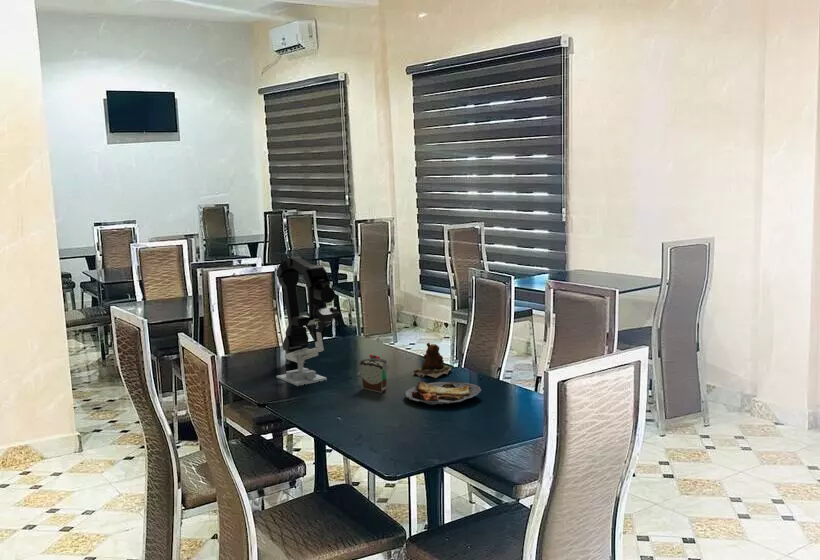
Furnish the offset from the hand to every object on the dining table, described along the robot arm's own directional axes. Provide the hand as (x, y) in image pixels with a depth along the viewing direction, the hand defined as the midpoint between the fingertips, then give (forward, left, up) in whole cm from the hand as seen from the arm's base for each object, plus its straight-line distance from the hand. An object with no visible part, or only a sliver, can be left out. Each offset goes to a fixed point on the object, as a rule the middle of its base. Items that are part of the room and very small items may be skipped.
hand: (318, 341), depth 294 cm
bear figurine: (+26, +33, -14) cm, 44 cm away
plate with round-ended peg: (0, -8, -13) cm, 15 cm away
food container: (+31, +5, -13) cm, 34 cm away
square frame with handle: (0, -7, -5) cm, 9 cm away
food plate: (+55, +14, -14) cm, 58 cm away
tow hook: (+11, +17, -15) cm, 26 cm away
